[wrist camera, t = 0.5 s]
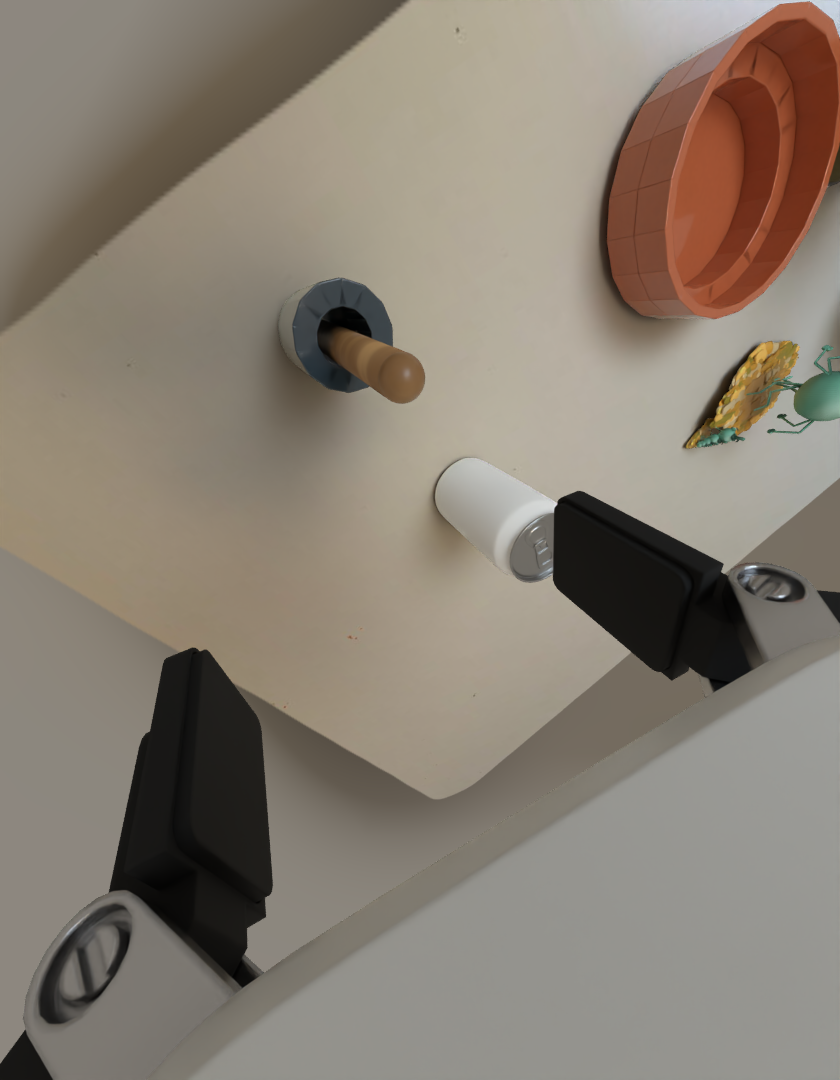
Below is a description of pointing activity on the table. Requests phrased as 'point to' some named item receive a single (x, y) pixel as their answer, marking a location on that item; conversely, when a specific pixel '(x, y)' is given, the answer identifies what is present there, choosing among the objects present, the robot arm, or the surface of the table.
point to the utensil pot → (338, 306)
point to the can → (499, 517)
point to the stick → (373, 362)
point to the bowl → (727, 167)
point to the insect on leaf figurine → (770, 394)
